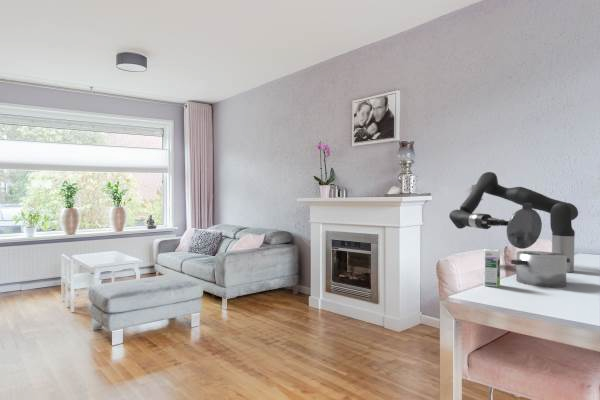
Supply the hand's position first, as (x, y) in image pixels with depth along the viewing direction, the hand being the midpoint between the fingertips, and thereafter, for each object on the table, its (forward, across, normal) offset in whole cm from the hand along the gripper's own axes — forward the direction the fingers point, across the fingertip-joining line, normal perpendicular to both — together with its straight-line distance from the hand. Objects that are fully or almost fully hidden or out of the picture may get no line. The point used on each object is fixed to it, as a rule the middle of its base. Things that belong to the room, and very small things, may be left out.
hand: (507, 223), depth 187 cm
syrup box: (+18, +25, -24) cm, 39 cm away
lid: (+10, 0, -1) cm, 10 cm away
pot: (+18, 0, -24) cm, 30 cm away
